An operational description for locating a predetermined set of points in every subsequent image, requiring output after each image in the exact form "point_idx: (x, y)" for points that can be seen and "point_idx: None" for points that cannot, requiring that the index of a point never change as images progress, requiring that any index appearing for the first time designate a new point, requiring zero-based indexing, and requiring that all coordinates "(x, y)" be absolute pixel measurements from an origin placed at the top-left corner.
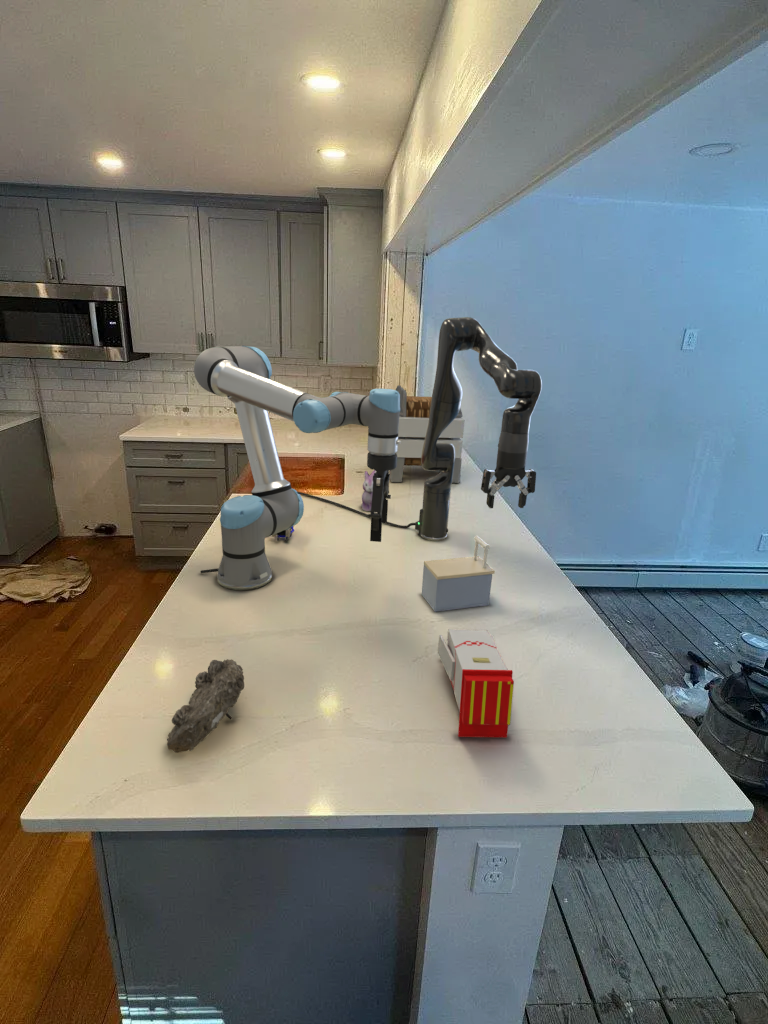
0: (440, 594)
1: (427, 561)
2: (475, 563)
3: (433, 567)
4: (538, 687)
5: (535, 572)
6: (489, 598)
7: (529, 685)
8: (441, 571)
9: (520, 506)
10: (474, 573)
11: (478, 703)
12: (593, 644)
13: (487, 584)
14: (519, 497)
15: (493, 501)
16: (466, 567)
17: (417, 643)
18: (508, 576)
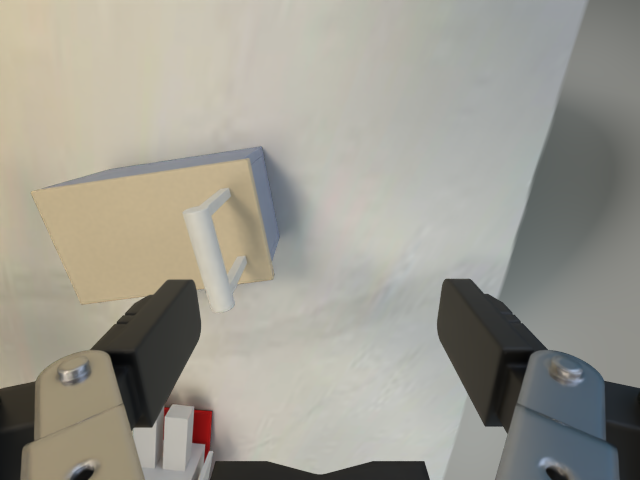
0: None
1: (43, 196)
2: (220, 223)
3: (66, 244)
4: (282, 463)
5: (509, 42)
6: (277, 243)
7: (270, 459)
8: (93, 273)
9: (441, 329)
10: (202, 288)
11: None
12: (434, 385)
13: None
14: (476, 331)
15: (173, 379)
16: (181, 251)
17: None
18: (401, 67)
